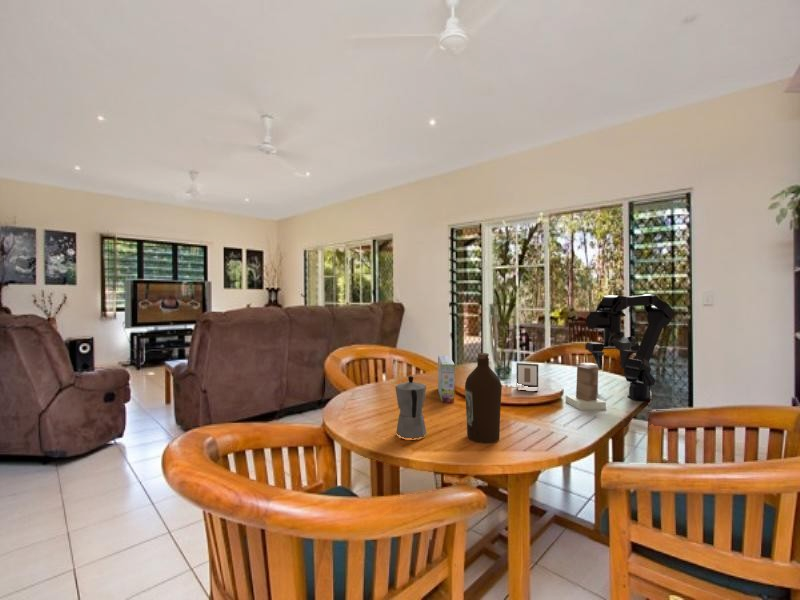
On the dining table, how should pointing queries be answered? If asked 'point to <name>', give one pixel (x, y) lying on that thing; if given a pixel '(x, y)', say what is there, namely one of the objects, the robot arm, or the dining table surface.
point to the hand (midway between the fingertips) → (611, 368)
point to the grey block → (593, 366)
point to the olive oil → (483, 402)
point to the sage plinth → (585, 403)
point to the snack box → (446, 378)
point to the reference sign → (527, 374)
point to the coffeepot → (411, 409)
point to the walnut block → (587, 382)
